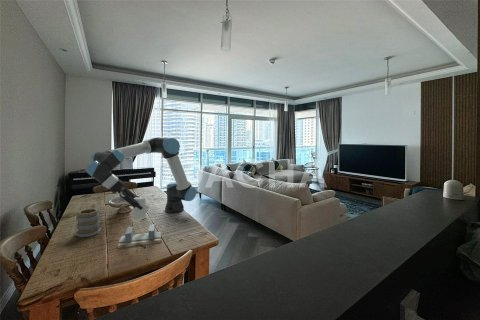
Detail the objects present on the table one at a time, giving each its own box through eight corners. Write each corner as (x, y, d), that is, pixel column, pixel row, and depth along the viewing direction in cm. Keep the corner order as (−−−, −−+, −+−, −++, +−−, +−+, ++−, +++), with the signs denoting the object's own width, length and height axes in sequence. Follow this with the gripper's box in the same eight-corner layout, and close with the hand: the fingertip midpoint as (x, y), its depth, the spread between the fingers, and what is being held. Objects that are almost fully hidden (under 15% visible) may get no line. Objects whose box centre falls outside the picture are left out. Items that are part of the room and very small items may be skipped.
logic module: (145, 214, 131) (145, 196, 130) (145, 217, 126) (144, 198, 125) (134, 215, 129) (134, 197, 128) (133, 218, 124) (133, 199, 123)
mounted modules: (154, 231, 136) (154, 224, 136) (154, 238, 127) (154, 230, 126) (128, 235, 131) (127, 226, 131) (125, 242, 122) (125, 233, 121)
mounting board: (161, 233, 139) (160, 230, 138) (160, 242, 127) (160, 238, 127) (121, 238, 131) (121, 235, 131) (118, 247, 120) (117, 244, 120)
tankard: (97, 235, 134) (96, 212, 133) (72, 238, 131) (71, 213, 129) (106, 223, 153) (105, 202, 152) (85, 225, 150) (84, 204, 148)
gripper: (112, 185, 130) (143, 210, 137) (104, 193, 113) (140, 220, 120) (121, 176, 131) (152, 201, 138) (115, 182, 114) (150, 210, 121)
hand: (146, 210), depth 129 cm, fingers closed on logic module, 5 cm apart
